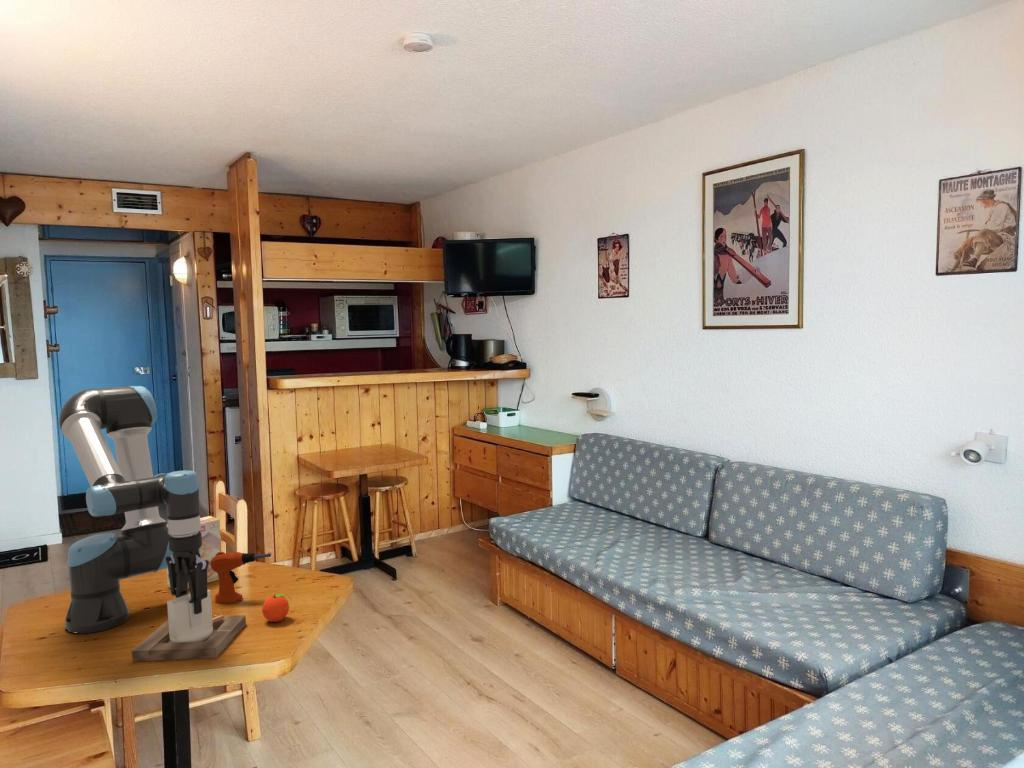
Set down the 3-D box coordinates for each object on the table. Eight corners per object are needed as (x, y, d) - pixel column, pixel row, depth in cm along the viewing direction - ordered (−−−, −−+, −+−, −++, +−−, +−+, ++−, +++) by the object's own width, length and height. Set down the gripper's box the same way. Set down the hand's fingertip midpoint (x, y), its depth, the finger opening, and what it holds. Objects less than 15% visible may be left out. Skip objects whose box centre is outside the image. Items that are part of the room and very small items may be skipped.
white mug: (185, 650, 176) (182, 606, 175) (161, 641, 181) (158, 598, 180) (235, 629, 187) (232, 587, 187) (211, 621, 193) (209, 581, 192)
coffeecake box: (177, 592, 219) (172, 529, 218) (166, 587, 224) (162, 525, 223) (224, 578, 231) (220, 518, 229) (213, 574, 235) (209, 515, 234)
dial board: (132, 661, 173) (131, 650, 172) (170, 627, 193) (169, 617, 192) (216, 658, 173) (215, 647, 173) (245, 624, 193) (245, 614, 193)
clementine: (286, 612, 200) (285, 587, 200) (298, 619, 195) (296, 593, 195) (258, 621, 195) (256, 595, 194) (269, 628, 190) (268, 602, 189)
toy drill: (275, 598, 207) (265, 547, 206) (212, 606, 209) (203, 556, 208) (281, 592, 212) (272, 542, 211) (220, 600, 214) (211, 551, 213)
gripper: (219, 532, 180) (225, 624, 182) (176, 526, 188) (182, 613, 190) (194, 540, 174) (200, 635, 175) (150, 533, 181) (156, 624, 183)
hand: (191, 624), depth 182 cm, fingers closed on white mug, 3 cm apart
